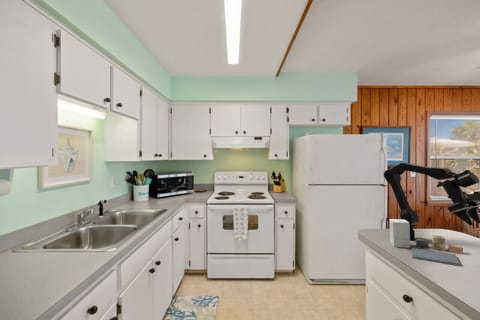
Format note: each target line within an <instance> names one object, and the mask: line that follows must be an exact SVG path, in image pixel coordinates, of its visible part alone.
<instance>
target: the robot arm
mask: <svg viewBox="0 0 480 320" xmlns="http://www.w3.org/2000/svg"><path fill="white" fill-rule="evenodd" d="M405 172H410V173H411V172H412V173H416V174H421V175H422V174H423V175H425V176H427V177H430V178H431V179H435V180H438V181H437V184H436V187H437V188H443V190H444V191H445V193H446V194H447V198H448V199H450V201H451V202H452V204H450V205H448V206H447V210H448V211H449V212H450V213H452V214H453V215H455V216H456V217H458V218H459V219H461V220H462V221H463V222H465V223H466V224H467V225H469V226H473V225H474V223H473V221H475V223H477V224H480V215H479V212H478V210H479V208H480V203H479V202H480V191H479V190H477V191H473V193H467V191H464V190H462V188H463V189H465V188H469V187H471V186H474V185H476V184H479V183H480V179H479V177H478V175H476V174H474V173H473V172H472V170H470V169H465V170H464V171H462V172H460V173H455V172H453V171H452V170H451V169H449V168H448V167H429V166H424V165H423V166H422V165H417V164H413V163H412V164H411V163H408V162H401V163H399V164H397V165H395V166H394V167H391V168H390V169H386V170H385V171H383V177H384V179H385V180H386V182H387V183H388V185H390V186H391V188H392V191H393V194H394V197H395V199H396V202H397V204H398V206H399V207H398V208H399V209H400V211H399V212H400V213H399V217H400V219H403V220H406V221H407V222H409V225H410V241H415V240H416V235H415V234H416V233H415V231H416V230H415V229H414V228H415V227H416V226H417V224H418V223H419V221H420V216H419V215H418V211H417V210H416V209H415V210H413V209H412V208H411V206H410V203H409V201H408V199H407V196H406V193H405V191H404V189H403V187H402V184H401V183H402V182H401V181H402V177H401V176H402V175H403V174H404V173H405ZM441 180H442V181H441ZM472 220H473V221H472ZM414 239H415V240H414Z"/></svg>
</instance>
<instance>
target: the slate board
mask: <svg viewBox="0 0 480 320" xmlns="http://www.w3.org/2000/svg"><path fill="white" fill-rule="evenodd" d="M411 255H412V257H411V258H412V259H414V258H415V260H421V261H428V262H434V263H440V264H444V265H445V264H446V265H450V266H457V267H461V262H460V261H459V259H458V257H457V255H456V253H451V252H444V251H438V250H428V249H424V248H422V249H421V248H415V247H411Z"/></svg>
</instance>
